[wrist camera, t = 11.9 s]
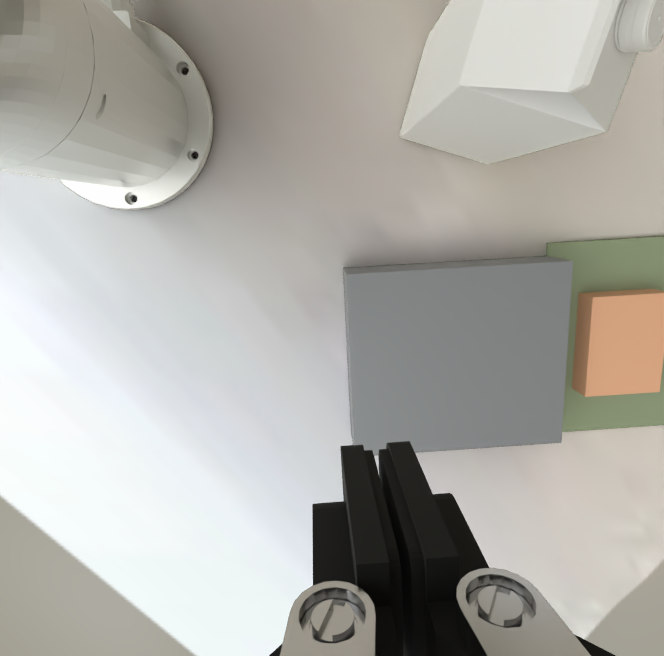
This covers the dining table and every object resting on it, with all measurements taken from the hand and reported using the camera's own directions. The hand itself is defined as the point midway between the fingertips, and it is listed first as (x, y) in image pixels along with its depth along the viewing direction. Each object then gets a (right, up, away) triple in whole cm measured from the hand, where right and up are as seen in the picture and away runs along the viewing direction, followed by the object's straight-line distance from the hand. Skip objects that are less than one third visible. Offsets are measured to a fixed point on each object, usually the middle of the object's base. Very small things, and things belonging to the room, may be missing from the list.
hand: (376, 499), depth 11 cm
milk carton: (+8, +20, +23) cm, 32 cm away
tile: (+22, +3, +25) cm, 34 cm away
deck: (+8, +2, +27) cm, 29 cm away
